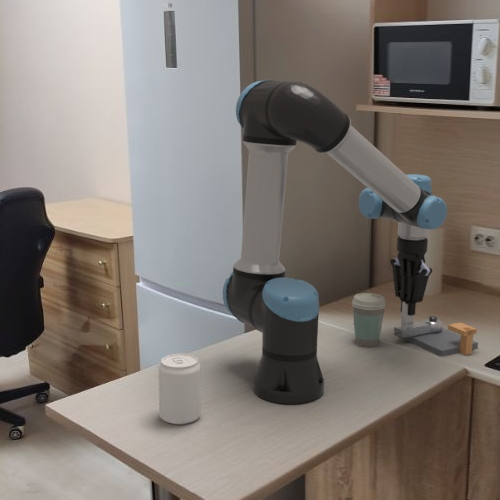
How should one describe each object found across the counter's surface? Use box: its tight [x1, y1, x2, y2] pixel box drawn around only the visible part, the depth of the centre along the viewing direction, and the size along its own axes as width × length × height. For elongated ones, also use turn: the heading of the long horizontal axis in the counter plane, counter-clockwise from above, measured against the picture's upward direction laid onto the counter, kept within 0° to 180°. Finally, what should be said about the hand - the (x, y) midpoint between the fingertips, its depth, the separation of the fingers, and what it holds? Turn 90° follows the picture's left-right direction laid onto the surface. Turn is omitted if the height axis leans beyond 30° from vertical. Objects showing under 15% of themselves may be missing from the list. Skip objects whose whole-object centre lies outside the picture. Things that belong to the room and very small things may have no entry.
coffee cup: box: [351, 292, 387, 348], centre depth 192 cm, size 8×8×12 cm
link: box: [393, 315, 443, 339], centre depth 196 cm, size 14×5×3 cm, turn 120°
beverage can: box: [158, 353, 202, 425], centre depth 150 cm, size 8×8×12 cm
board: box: [401, 327, 479, 357], centre depth 194 cm, size 12×15×2 cm
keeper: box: [447, 322, 478, 356], centre depth 188 cm, size 4×6×6 cm
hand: (406, 325), depth 198 cm, fingers closed
